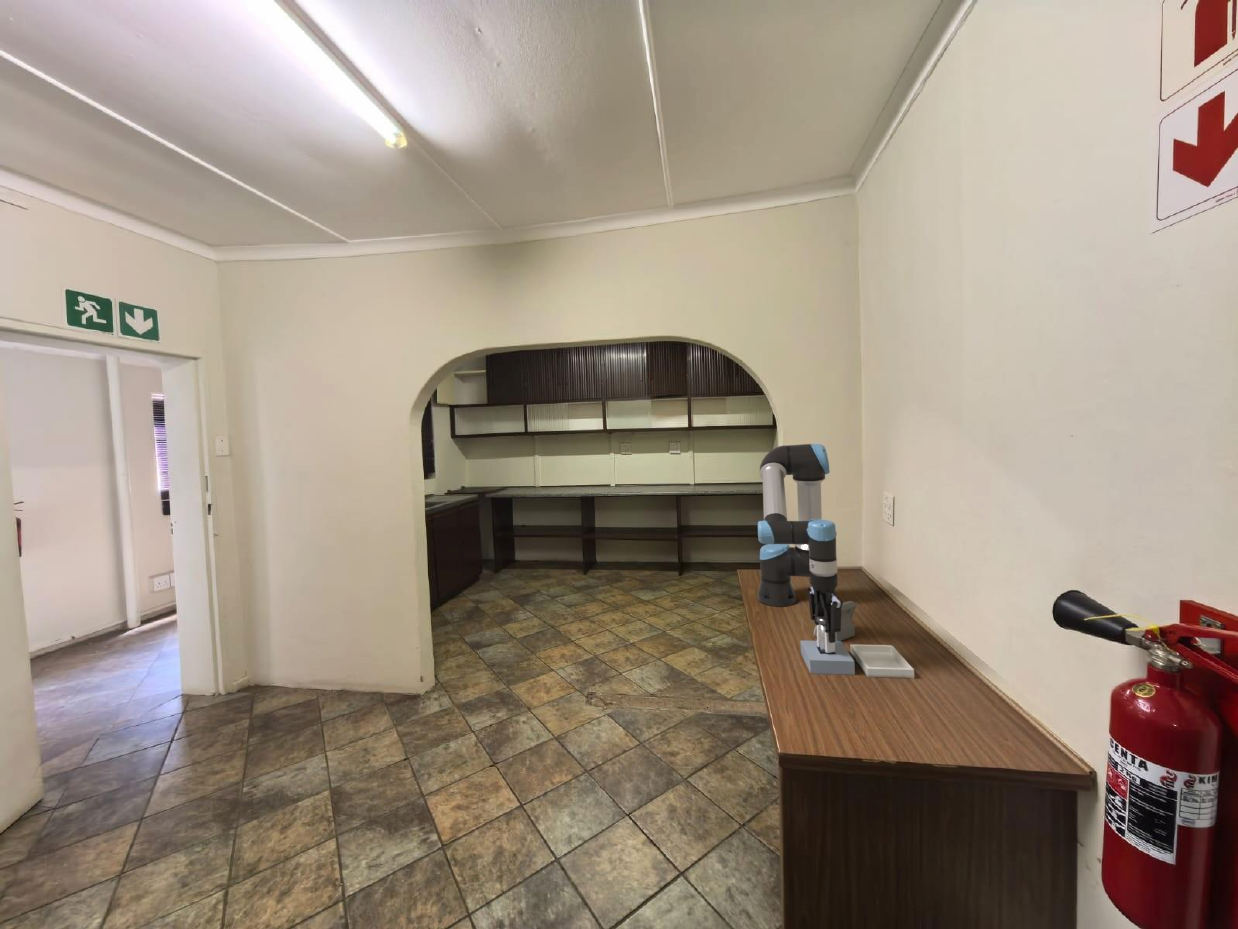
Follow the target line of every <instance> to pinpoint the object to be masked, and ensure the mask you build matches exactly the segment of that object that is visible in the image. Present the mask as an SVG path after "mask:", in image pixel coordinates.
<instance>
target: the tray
mask: <svg viewBox="0 0 1238 929" xmlns="http://www.w3.org/2000/svg"><path fill="white" fill-rule="evenodd" d="M849 647H850V648H849V649H850V655H851V656H853V659H855V661H856V662H857V664H858V665H859V666H860V668H861V670H862V671H863V672H864V674H865V675H866V677H867V678H883V679H884V678H886V679H887V678H889V679H890V678H892V679H915V669H914V667H912V666H911V665H910V664H909V663H908V661H907V660H906V659H905V658H904V656H903V655H901V653H900V652H899V651H898V650H897V649H896V648H895V647H894V645H891V644H888V645H887V644H850V646H849Z"/></svg>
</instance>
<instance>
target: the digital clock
mask: <svg viewBox="0 0 1238 929" xmlns="http://www.w3.org/2000/svg"><path fill="white" fill-rule="evenodd" d="M856 607H857V604H856V602H854V601H852V600H851V601H850V600H849V601H845V602H843V605H842V608H841V631H840V632H835V640H836V641H841V642H842V641H844V640H848V639H849V638H852V637H854V636H856V630H855V629H856V628H855V627H856V626H855V622H854V621H853V620H852V619H853V617H854V613H855V611H856ZM824 615H825V614H824ZM813 636H814V638H816V639H817V633H816V625H815V626H814V630H813Z"/></svg>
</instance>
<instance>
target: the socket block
mask: <svg viewBox="0 0 1238 929" xmlns="http://www.w3.org/2000/svg"><path fill="white" fill-rule="evenodd" d="M800 654H801V656H802V658H803V660H804V662H805V664H806V667H807V669H808V671H809V673H810V674H814V675H815V674H817V675H820V674H821V675H852V676H853V675H854V676H855V675H856V674H855V673H856V672H855V671H856V670H855V669H856V668H855V666H856V665H855V660H854V657H852V654H851V653H850V652H848V650H847V648H846V647H845V645H844V644H843V642H842V641H835V652H832V654H820V647H818V646H817V640H800Z"/></svg>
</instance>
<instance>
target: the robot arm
mask: <svg viewBox="0 0 1238 929" xmlns="http://www.w3.org/2000/svg"><path fill="white" fill-rule="evenodd" d="M760 462H761V463H760V466H759V476H760V478H761V480H762V497H763V498H762V499H763V500H762V502H763V503H762V505H763V506H762V508H763V520H759V521H758V522H757V536H758V542H759V543H760V544H764V545H763V546H761V548H760V550H759V560H760V561H759V562H760V564H759V566H760V582H759V583H760V584H759V587H758V591H757V596H756V597H757V600H758V601H759V602H760V603H761V602H762V603H761V604H763V603H764V605H767V606H772V607H788V606H792V605H794V604H796V602H797V596H796V591H795V590H794V588H793V585H792V584H793V583H792V581H791V577H802V578H803V577H805V578H809V585H811V587H809V586H808V587H807V588H806V590H807V594H808V602H809V614H810V615H809V616H810V620H811V621H814V624H815V626H816V633H817V638H816V641H817V646H818V647H820V638H819V623H818V622H817V616H820V615H824V614H825V621H826V629H827V630H825V652H826V653H830V652H835V641H836V640H835V632H840V631H841V608H842V605H843V603H844V602H843V600H839V599H838V598H837V595H836V591H835V590H836V588H837V587H838V585H839V584H838V583H839V581H838V574H837V573H838V559H837V557H838V556H837V534H838V533H837V530H836V524H835V522H833V521H832V520H827V519H822V518H823V517H822V516H823V515H822V514H823V513H822V510H823V509H822V482H823V481H825V480H826V475H829V474H830V462H829V457H828V453H827V450H826V447H825V445H823V444H819V443H803V444H792V445H791V444H790V445H780V446H776V447H775V448H772V449H771V450H770V451H768V452H767V454H766V455H765V456H764V457H763V459H762V461H760ZM786 476H792V480H793V481H794V482H795V483H796V489H797V519H798V520H788V513H787V512H788V511H787V502H786V501H787V500H786V499H787V498H786V489H785V488H786V486H785V478H786ZM790 545H794V547H793V546H790Z"/></svg>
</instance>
